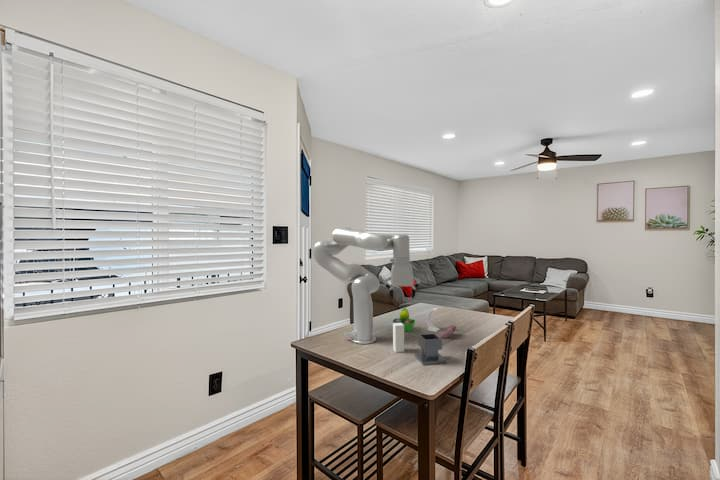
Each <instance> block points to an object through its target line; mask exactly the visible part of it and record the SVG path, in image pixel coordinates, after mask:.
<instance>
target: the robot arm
mask: <svg viewBox="0 0 720 480" xmlns="http://www.w3.org/2000/svg"><path fill="white" fill-rule="evenodd" d="M349 246H351V247H354V248H357V247H358V248H361V249H364V250H369V251H376V252H384V251H392V252H393V253H392V255H393V256H392V258H391V259H389V262H390V263H393V264H391V270H390V276H389V277H387V278H385V279H383V283H384V286H385V287H386V288H387V290H389V297H390V299H391V300H393V299H394V290H393V289H394V287H411V289H410V291H411V294H410V295H411V299H415V297H416V289H417V288H418V287H419V285H420V284H421V279H419V278H418V277H416V276H414V270H413V265H412V264H411V263H410V262H411V259H410V258H411V257H410V252H411V251H410V236H409V235H407V234H396V235H395V234H394V235H393V234H375V233H368V232H364V231H363V230H361V229H354V228H353V229H352V228H351V227H337V228H335V229H334V230H333V231H332V232H331V239H327V240H326V239H325V240H318V242H315V244H314V245H313V248H312V254H313V258H314V260H315V261H316V263H317V264H318V265H319V266H320V267H321V268H322V269H324V270H326V271H327V272H328V273H330V274H331V275H332V276H334V278H336V279H338V280H339V281H340V282H342V283H343V284H351V295H352V300H353V302H352V303H353V329H352V330H351V331H350V332H349V331H347V332H344V337H345V338H346V337H347V338H350V341H351V342H353V343H355V344H360V345H367V344H372V343H374V342H376V340H377V337H376V336H375V335H374V319H373V318H374V315H373V314H374V312H373V311H374V310H373V306H374V305H373V300H372V296H371V295H372V294H373V293H375V292H377V291H379V289H380V286H381V285H380V284H381V283H380V279H379V278H378V277H377V276H376V275H375V274H374V273H372V272H371V271H369V270H368V269H367V268H365V267H364V266H362V265H360V264H358V263H351V264H348V263H346V262H343V261H342V260H341V259H340V258H338V257H336V255H339V254H341V252H342V251H344V250H345V249H346V248H348V247H349ZM414 280H415V281H416V283H415V282H414ZM388 282H390V285H389V284H388ZM414 283H415V284H414Z"/></svg>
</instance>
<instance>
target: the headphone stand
mask: <svg viewBox="0 0 720 480" xmlns="http://www.w3.org/2000/svg"><path fill="white" fill-rule="evenodd" d="M439 310H440V307H435V308H433V309H431V310H428V312H427V313H426V316H425V323H426V326H427V327H428V328H427V331H429V332H433V333H434V332H435V333H437V332H439V331H440V328H439V327H437V326H435V324H434V323H433V322H432V320H431V318H432V314H433V312H438V311H439Z"/></svg>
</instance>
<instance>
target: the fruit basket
mask: <svg viewBox="0 0 720 480" xmlns="http://www.w3.org/2000/svg"><path fill="white" fill-rule="evenodd" d="M391 322H392V324H393V323H402V324H403V325H404V332H409V333H412V332H413V330H414V325H415V322H416V320H415V319H411V318H410V313H409V310H408V309H407V308H406V307H403V308H402V309H401V310H400V313H399V318H397V317H396V318H394V319H393V320H392V321H391Z"/></svg>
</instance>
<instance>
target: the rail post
mask: <svg viewBox="0 0 720 480" xmlns="http://www.w3.org/2000/svg"><path fill="white" fill-rule="evenodd" d="M392 350H393V352H394V353H404V352H405V331H404V325H403V324H402V323H393V322H392Z"/></svg>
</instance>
